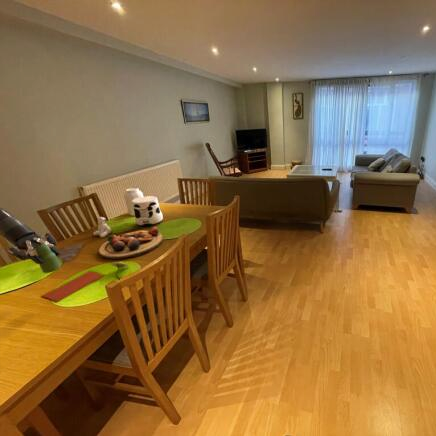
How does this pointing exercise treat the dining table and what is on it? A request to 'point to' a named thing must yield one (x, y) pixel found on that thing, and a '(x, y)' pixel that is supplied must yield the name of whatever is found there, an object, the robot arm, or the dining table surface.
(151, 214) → the milk container
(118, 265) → the decorative flower
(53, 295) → the cloth
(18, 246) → the robot arm
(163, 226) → the dining table surface
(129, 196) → the white vase
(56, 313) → the dining table surface
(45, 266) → the pear
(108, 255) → the wooden plate
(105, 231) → the seated beast figurine
